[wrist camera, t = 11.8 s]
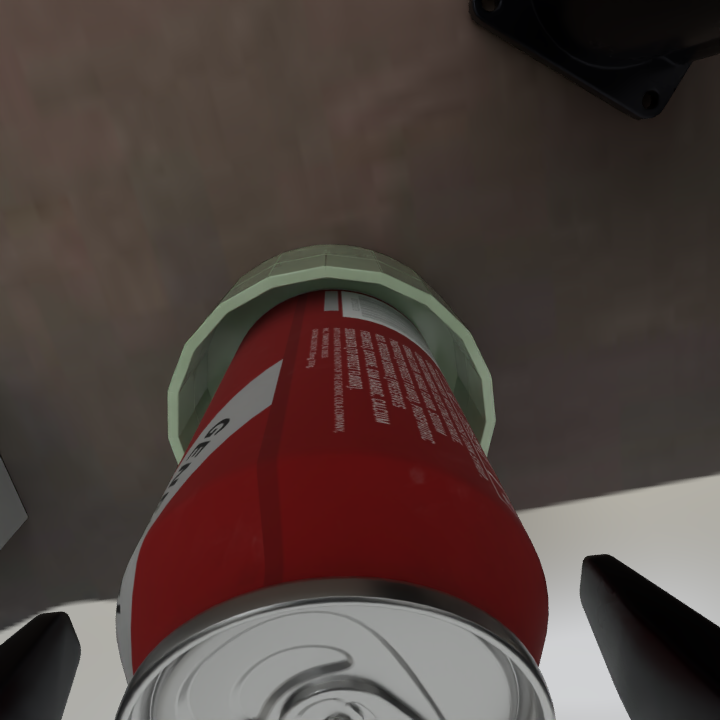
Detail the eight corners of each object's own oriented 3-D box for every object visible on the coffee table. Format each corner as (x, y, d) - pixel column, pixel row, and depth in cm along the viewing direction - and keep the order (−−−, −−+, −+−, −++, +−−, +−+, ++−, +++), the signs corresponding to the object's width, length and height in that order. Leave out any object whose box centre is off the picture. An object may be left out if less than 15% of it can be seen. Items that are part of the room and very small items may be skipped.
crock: (508, 312, 17) (556, 353, 14) (390, 512, 20) (403, 590, 16) (259, 194, 15) (236, 204, 12) (168, 432, 18) (126, 500, 15)
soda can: (344, 239, 16) (376, 425, 4) (468, 386, 18) (701, 764, 7) (194, 370, 17) (-72, 766, 6) (325, 493, 19) (317, 957, 8)
